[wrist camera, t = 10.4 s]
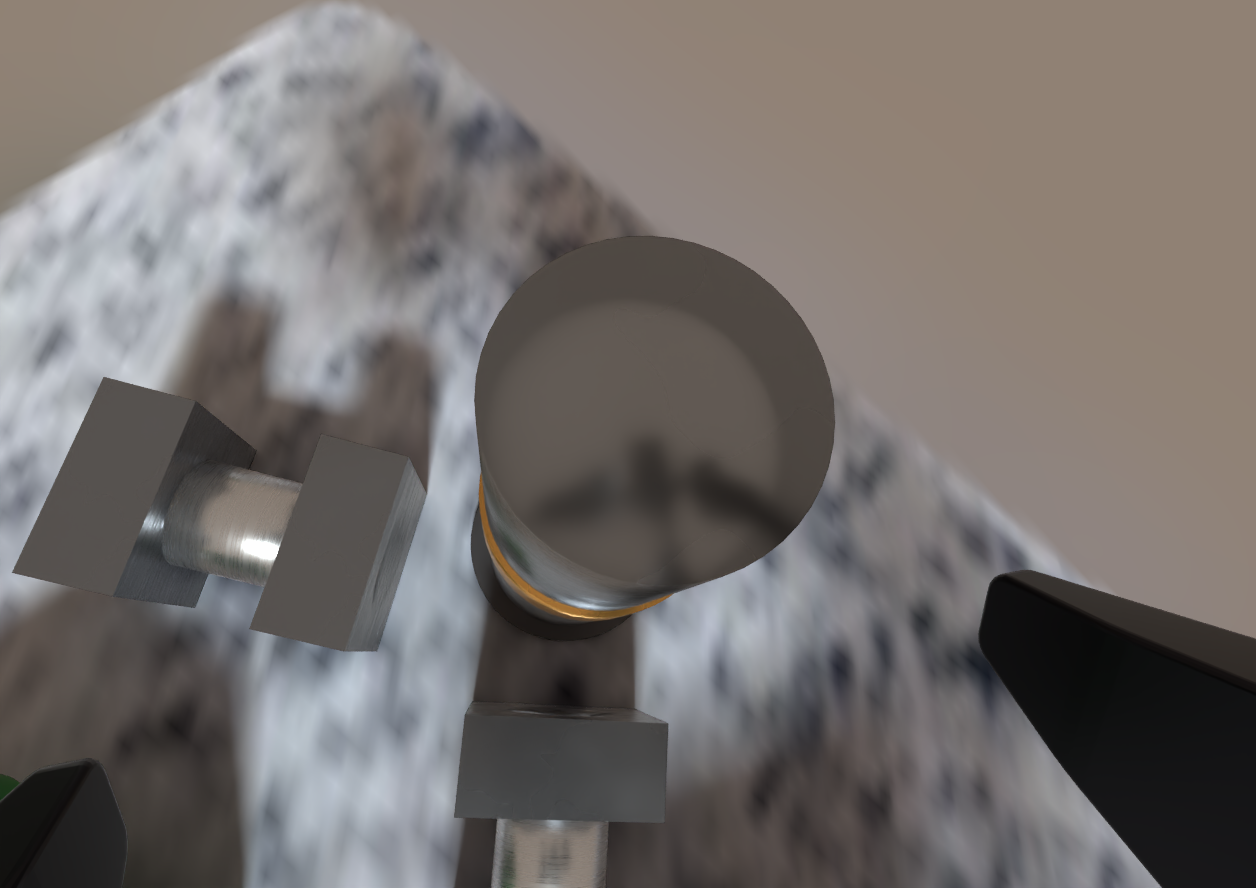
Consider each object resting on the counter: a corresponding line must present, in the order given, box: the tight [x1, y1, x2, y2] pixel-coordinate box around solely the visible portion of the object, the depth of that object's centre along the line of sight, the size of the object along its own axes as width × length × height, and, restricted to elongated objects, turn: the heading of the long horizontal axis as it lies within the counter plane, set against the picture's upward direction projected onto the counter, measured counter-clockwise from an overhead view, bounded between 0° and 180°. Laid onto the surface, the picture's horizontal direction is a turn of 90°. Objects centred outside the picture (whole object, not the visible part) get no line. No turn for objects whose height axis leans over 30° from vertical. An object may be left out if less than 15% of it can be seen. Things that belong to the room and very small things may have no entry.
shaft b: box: [12, 377, 427, 651], centre depth 19 cm, size 7×4×4 cm, turn 77°
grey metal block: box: [454, 701, 668, 888], centre depth 18 cm, size 7×4×4 cm, turn 177°
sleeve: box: [474, 236, 835, 625], centre depth 15 cm, size 5×5×13 cm
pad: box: [471, 506, 633, 641], centre depth 22 cm, size 5×5×1 cm
